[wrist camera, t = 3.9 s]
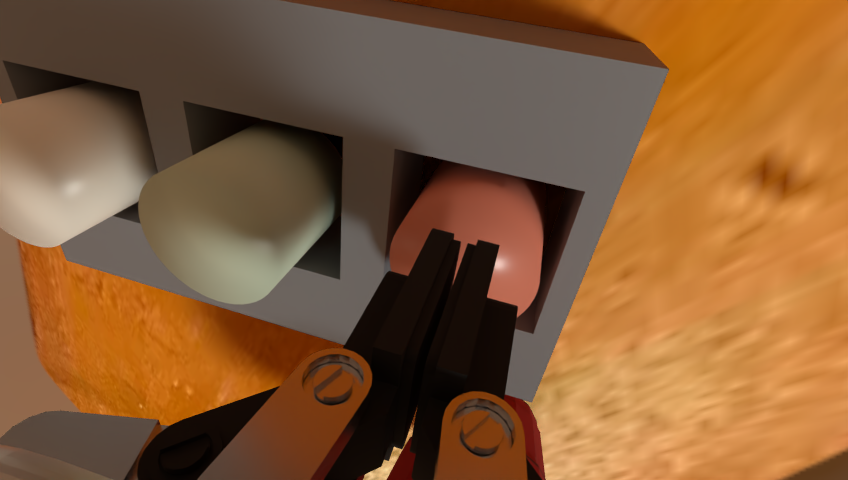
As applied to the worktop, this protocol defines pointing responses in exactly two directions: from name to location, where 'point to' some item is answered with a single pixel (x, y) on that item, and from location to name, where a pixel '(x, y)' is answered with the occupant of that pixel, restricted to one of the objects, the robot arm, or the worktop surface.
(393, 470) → the plastic cup
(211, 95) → the panel
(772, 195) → the worktop surface
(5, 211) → the ivory button
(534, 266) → the brick button
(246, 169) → the sage button
